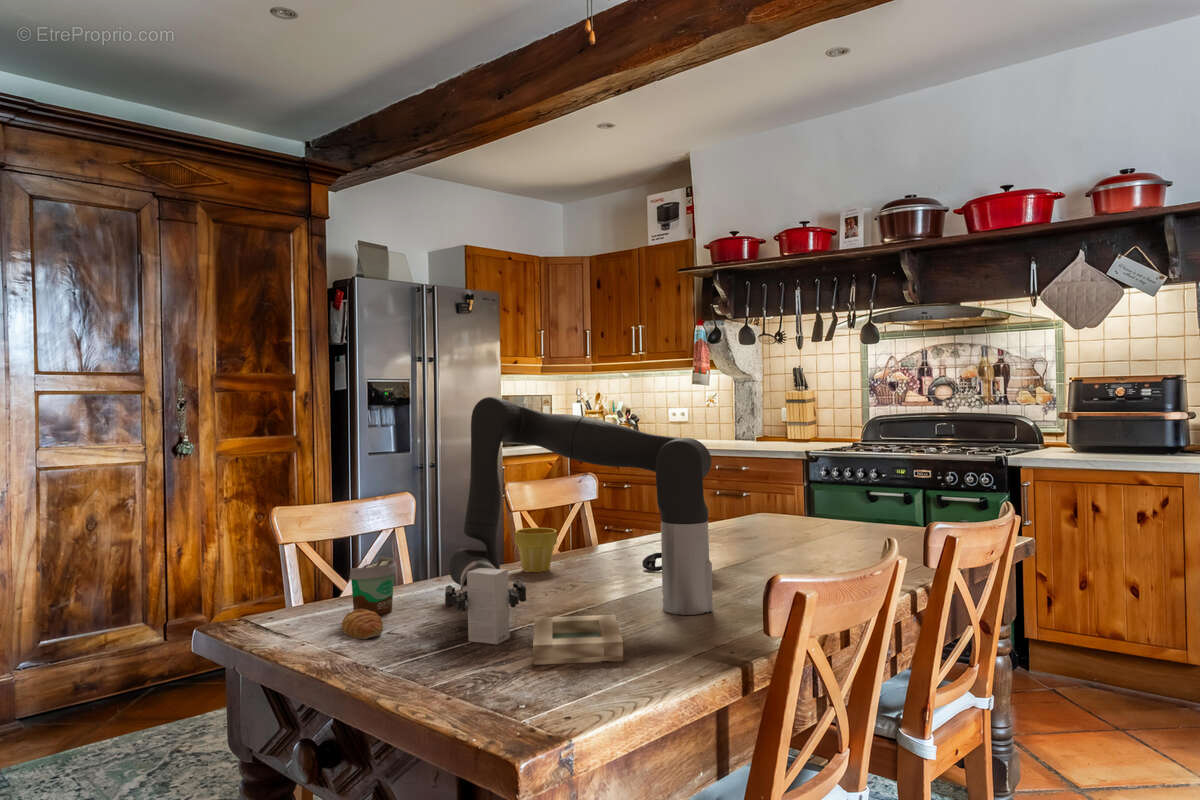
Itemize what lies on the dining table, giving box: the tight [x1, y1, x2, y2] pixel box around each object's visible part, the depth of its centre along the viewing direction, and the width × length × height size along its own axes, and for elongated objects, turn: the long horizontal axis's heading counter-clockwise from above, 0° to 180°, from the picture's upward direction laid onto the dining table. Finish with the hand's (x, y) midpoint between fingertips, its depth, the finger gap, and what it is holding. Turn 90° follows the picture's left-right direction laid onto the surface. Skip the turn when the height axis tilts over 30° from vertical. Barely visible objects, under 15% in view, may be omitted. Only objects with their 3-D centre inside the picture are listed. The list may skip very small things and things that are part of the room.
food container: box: [349, 556, 398, 618], centre depth 154 cm, size 12×6×10 cm, turn 168°
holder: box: [532, 614, 624, 666], centre depth 129 cm, size 14×16×3 cm
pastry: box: [341, 609, 384, 640], centre depth 140 cm, size 9×7×4 cm
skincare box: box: [467, 568, 511, 645], centre depth 135 cm, size 6×4×12 cm
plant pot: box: [514, 527, 558, 573], centre depth 192 cm, size 10×10×10 cm
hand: (488, 603), depth 133 cm, fingers open, 8 cm apart
